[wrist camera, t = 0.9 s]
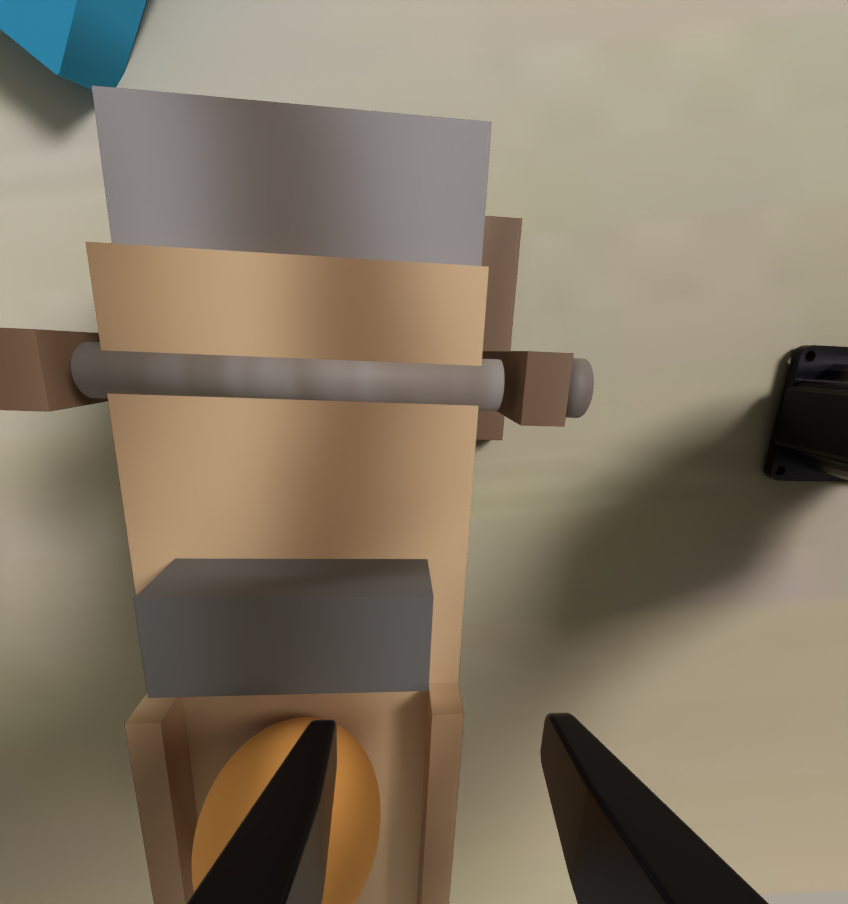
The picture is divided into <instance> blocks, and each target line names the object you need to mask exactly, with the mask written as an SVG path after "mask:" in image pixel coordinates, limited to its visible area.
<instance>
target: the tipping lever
mask: <svg viewBox="0 0 848 904" xmlns="http://www.w3.org/2000/svg"><path fill="white" fill-rule="evenodd" d="M92 92H93V100H94V108H95V116H96V124H97V131H98V139H99V147H100V155H101V163H102V170H103V178H104V186H105V194H106V201H107V209H108V217H109V225H110V233H111V240H112V243H97V242H86V248H87V255H88V262H89V269H90V276H91V283H92V290H93V297H94V304H95V311H96V318H97V325H98V332H99V339H100V342H84V343H81V344H80V345H78V346H77V348H76V349H75V350H74V352H73V355H72V359H71V372H72V376H73V380H74V382H75V384H76V386H77V387H78V389H79V390H80V391H81V392H82V393H83V394H84V395H86V396H88V397H91V398H108V403H109V410H110V417H111V424H112V431H113V438H114V445H115V452H116V459H117V466H118V473H119V480H120V487H121V494H122V501H123V508H124V515H125V522H126V529H127V536H128V543H129V550H130V557H131V564H132V571H133V578H134V585H135V592H136V596H135V597H134V605H135V612H136V619H137V626H138V633H139V640H140V647H141V654H142V661H143V668H144V675H145V682H146V688H147V693H146V695H145V696H144V697H143V699H142V700H141V702H140V703H139V704H138V706H137V707H136V709H135V710H134V711H133V713H132V714H131V716H130V717H129V718H128V720H127V721H126V722H125V724H124V725H125V731H126V737H127V743H128V749H129V755H130V761H131V767H132V773H133V779H134V785H135V792H136V798H137V804H138V810H139V816H140V822H141V828H142V834H143V840H144V846H145V853H146V859H147V865H148V871H149V877H150V883H151V889H152V895H153V901H154V904H187V902H188V901H189V899H190V898H191V896H192V895H193V893H194V889H193V884H192V860H191V859H192V849H193V841H194V835H195V831H196V826H197V822H198V819H199V816H200V813H201V810H202V807H203V805H204V802H205V799H206V797H207V795H208V793H209V791H210V789H211V787H212V785H213V783H214V781H215V779H216V778H217V776H218V775H219V773H220V772H221V770H222V768H223V767H224V766H225V765H226V763H227V762H228V761H229V759H230V758H231V757H232V756H233V755H234V753H235V752H236V751H237V750H238V749H239V748H240V747H241V746H242V745H244V744H245V743H246V742H247V741H248V740H249V739H250V738H252V737H253V736H254V735H256V734H257V733H259V732H260V731H262V730H264V729H265V728H267V727H269V726H271V725H273V724H276V723H278V722H281V721H284V720H287V719H291V718H296V717H315V718H321V719H325V720H334V721H335V722H336V724H337V725H339V726H341V727H342V728H344V729H345V730H346V731H348V732H349V733H350V734H351V735H352V736H354V738H355V739H356V740H357V741H358V742H359V744H360V745H361V746H362V747H363V749H364V751H365V752H366V754H367V756H368V758H369V760H370V762H371V764H372V766H373V769H374V772H375V775H376V779H377V783H378V787H379V794H380V804H381V823H380V834H379V841H378V846H377V851H376V855H375V858H374V862H373V865H372V868H371V871H370V874H369V876H368V878H367V881H366V883H365V885H364V887H363V889H362V891H361V894H360V895H359V897H358V899H357V900H356V902H355V904H449V897H450V884H451V872H452V859H453V847H454V834H455V822H456V810H457V797H458V785H459V772H460V760H461V747H462V735H463V723H464V710H463V705H462V700H461V695H460V690H459V685H458V675H459V662H460V649H461V635H462V622H463V608H464V595H465V581H466V568H467V554H468V541H469V527H470V514H471V501H472V487H473V474H474V460H475V447H476V433H477V420H478V410H481V411H497V410H498V409H499V408H500V405H501V402H502V398H503V393H504V367H503V363H502V361H501V360H500V359H482V353H483V339H484V326H485V312H486V299H487V285H488V272H489V267H487V266H482V252H483V238H484V223H485V209H486V195H487V181H488V166H489V152H490V138H491V124H492V122H487V121H476V120H465V119H454V118H443V117H432V116H421V115H410V114H399V113H388V112H377V111H366V110H355V109H344V108H333V107H322V106H311V105H300V104H289V103H279V102H268V101H257V100H246V99H235V98H224V97H213V96H202V95H191V94H180V93H169V92H158V91H147V90H136V89H125V88H114V87H103V86H92Z"/></svg>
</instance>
